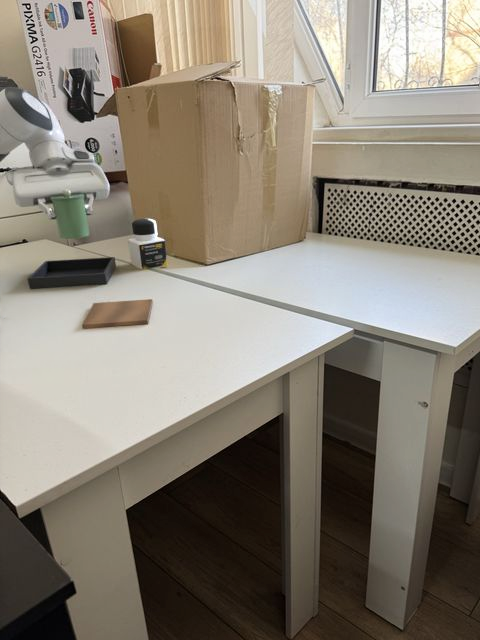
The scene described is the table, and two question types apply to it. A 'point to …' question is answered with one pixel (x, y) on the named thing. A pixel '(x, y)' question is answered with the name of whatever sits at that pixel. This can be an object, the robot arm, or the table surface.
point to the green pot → (70, 215)
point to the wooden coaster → (118, 313)
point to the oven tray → (73, 273)
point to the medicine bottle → (146, 245)
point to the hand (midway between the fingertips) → (71, 215)
